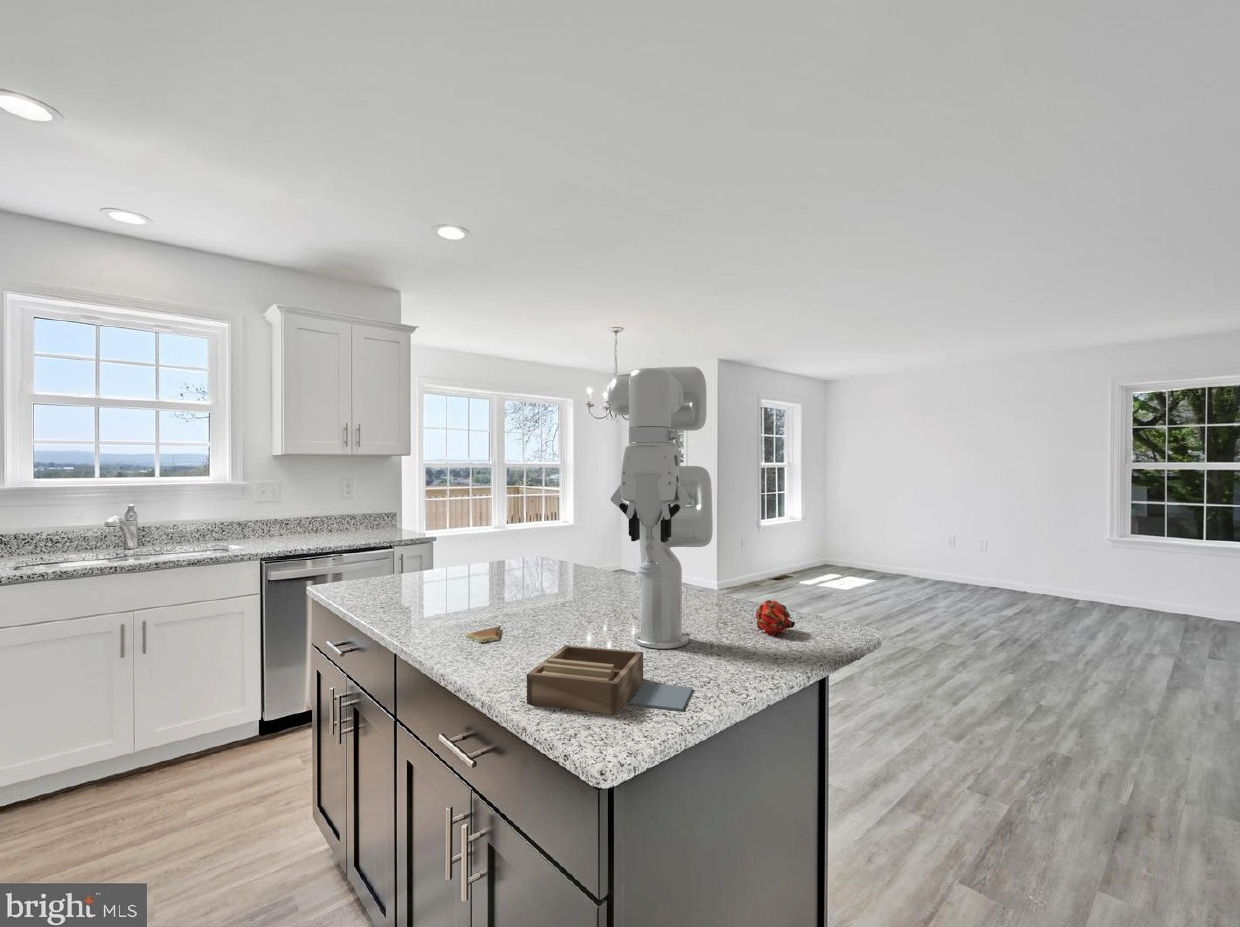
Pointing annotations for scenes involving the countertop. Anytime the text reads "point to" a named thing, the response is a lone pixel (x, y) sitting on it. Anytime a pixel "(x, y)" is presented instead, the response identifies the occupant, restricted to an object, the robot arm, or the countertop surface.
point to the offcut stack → (579, 669)
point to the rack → (587, 681)
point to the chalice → (648, 520)
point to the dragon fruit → (773, 618)
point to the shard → (485, 634)
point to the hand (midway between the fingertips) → (649, 540)
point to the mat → (662, 696)
